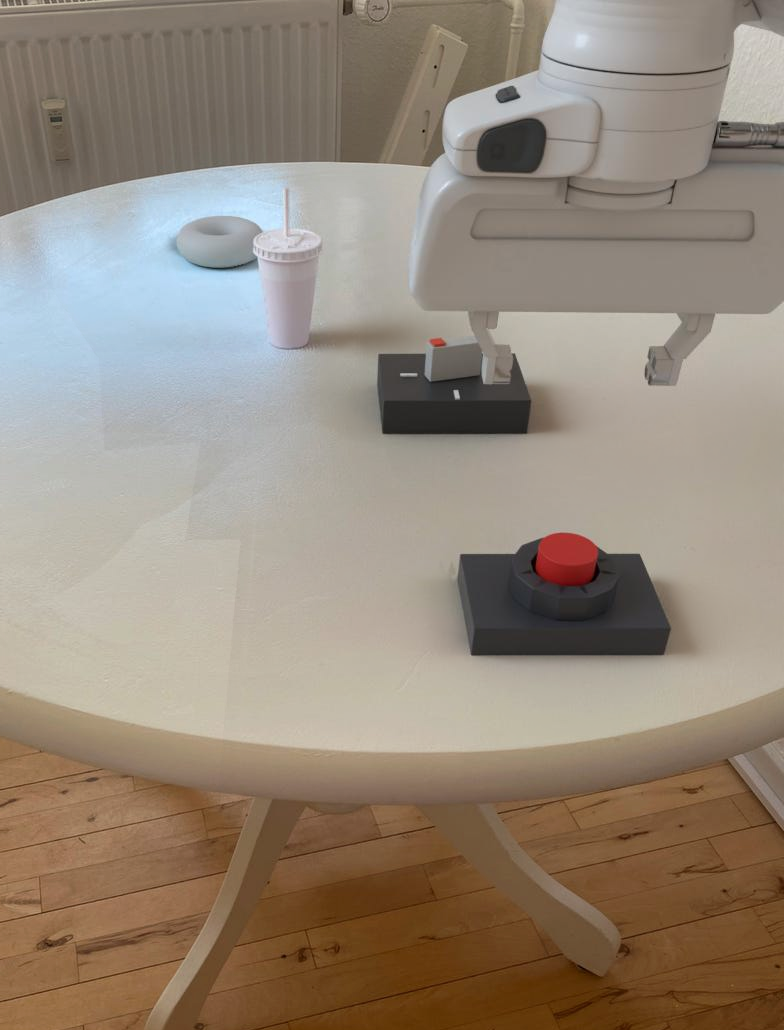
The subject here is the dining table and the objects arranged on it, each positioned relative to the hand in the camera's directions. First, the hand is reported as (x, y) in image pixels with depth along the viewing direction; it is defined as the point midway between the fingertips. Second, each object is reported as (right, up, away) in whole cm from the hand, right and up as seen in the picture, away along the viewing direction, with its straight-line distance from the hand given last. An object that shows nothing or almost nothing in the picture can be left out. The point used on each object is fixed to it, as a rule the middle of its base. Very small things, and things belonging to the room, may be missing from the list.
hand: (577, 381), depth 61 cm
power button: (+1, -11, +6) cm, 12 cm away
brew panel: (-3, +5, +30) cm, 31 cm away
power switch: (+1, -13, +8) cm, 16 cm away
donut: (-25, +28, +59) cm, 70 cm away
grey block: (-3, +7, +28) cm, 29 cm away
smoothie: (-17, +14, +41) cm, 47 cm away
